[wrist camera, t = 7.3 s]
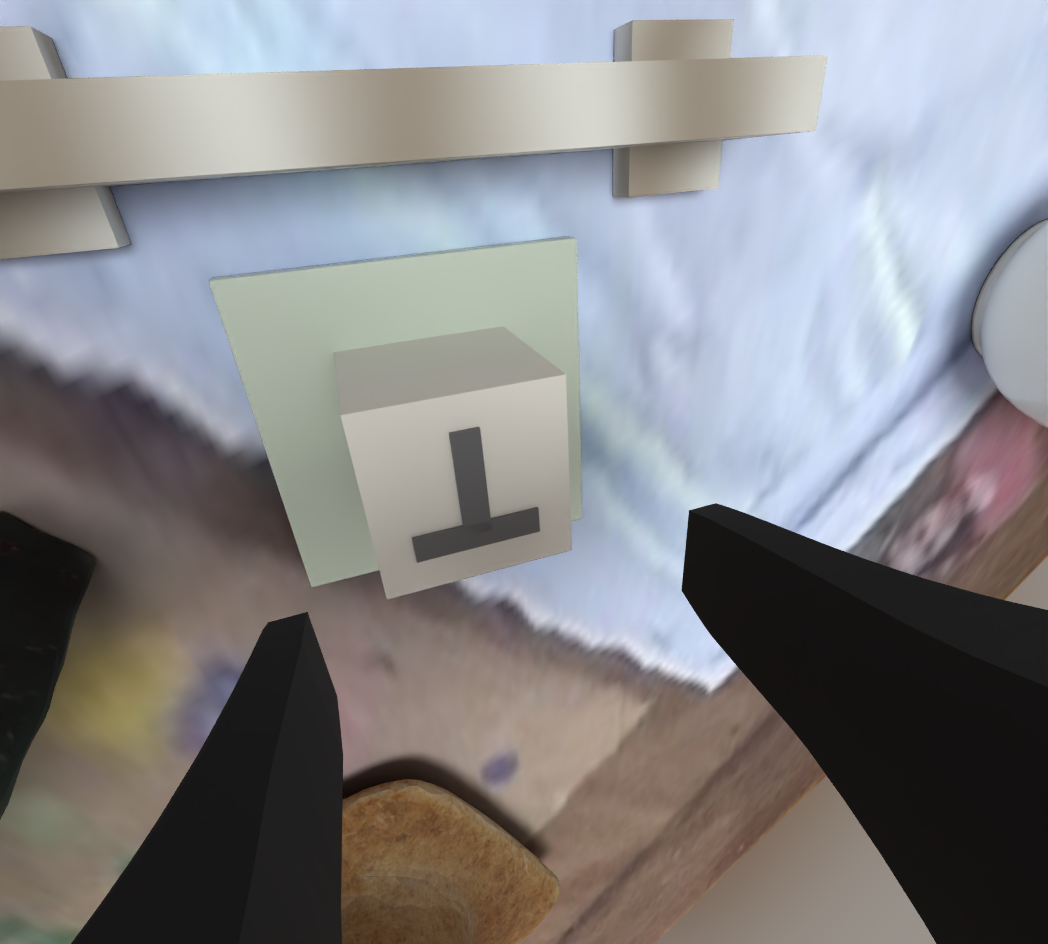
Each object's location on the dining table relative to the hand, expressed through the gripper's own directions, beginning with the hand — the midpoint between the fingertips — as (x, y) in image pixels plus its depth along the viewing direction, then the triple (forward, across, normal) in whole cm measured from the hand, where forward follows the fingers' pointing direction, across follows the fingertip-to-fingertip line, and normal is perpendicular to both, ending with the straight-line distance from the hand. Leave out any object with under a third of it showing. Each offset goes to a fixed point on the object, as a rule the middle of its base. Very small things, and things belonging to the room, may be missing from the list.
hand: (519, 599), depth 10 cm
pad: (+9, 0, 0) cm, 9 cm away
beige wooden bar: (+9, 0, -8) cm, 12 cm away
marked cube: (+9, 0, 0) cm, 9 cm away
